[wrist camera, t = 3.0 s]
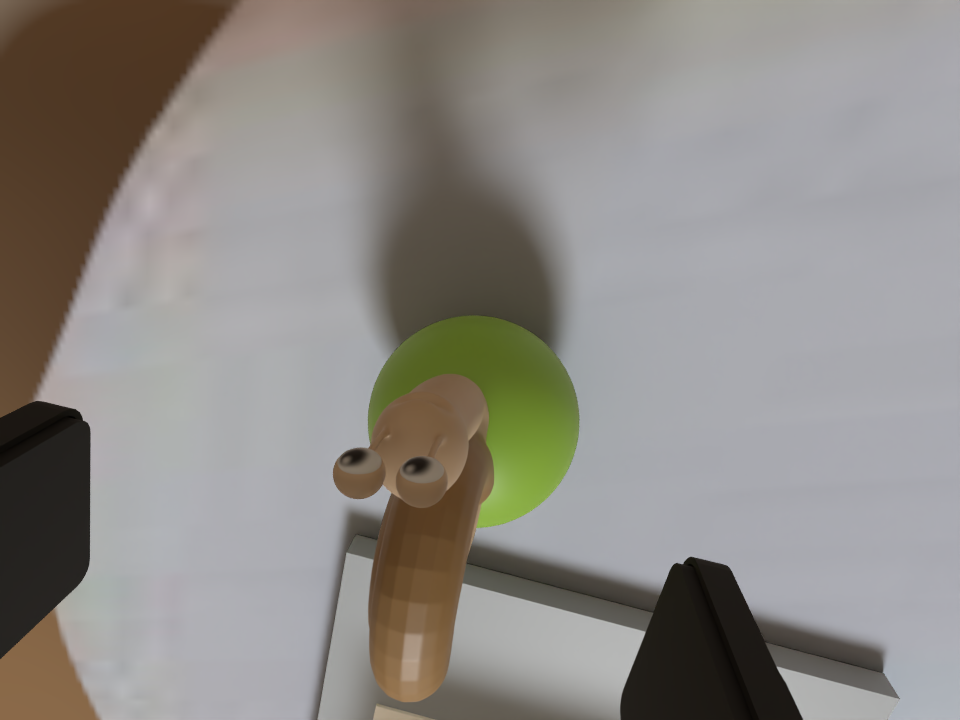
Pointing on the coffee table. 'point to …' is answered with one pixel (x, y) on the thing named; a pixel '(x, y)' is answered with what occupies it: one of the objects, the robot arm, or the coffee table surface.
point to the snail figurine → (451, 476)
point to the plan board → (546, 658)
